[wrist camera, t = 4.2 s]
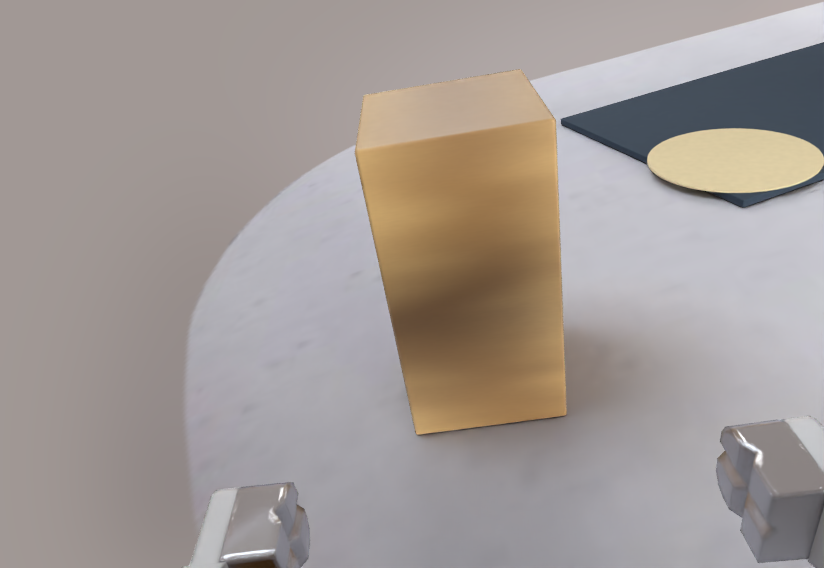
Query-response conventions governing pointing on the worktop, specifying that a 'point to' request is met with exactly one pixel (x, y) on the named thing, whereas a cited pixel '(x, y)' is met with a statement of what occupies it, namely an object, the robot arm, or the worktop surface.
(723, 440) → the robot arm
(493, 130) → the brass rectangular block
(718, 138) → the pattern mat
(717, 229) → the worktop surface
